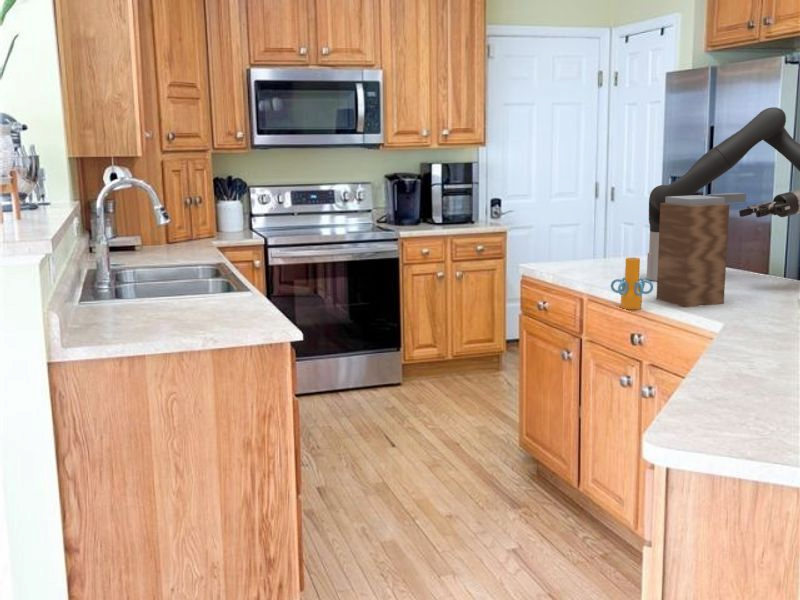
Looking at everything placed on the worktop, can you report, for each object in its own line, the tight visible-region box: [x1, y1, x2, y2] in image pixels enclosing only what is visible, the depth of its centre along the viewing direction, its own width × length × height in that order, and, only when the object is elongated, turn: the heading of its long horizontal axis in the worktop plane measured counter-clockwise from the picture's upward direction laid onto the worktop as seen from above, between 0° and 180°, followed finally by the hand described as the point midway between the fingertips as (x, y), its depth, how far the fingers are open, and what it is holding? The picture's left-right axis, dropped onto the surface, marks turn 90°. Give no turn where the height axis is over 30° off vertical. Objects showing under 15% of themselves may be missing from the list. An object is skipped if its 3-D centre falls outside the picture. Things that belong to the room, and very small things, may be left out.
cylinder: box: [610, 256, 654, 311], centre depth 241 cm, size 12×10×15 cm
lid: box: [665, 192, 747, 206], centre depth 246 cm, size 23×12×2 cm, turn 108°
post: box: [656, 203, 730, 308], centre depth 247 cm, size 14×14×30 cm
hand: (748, 214), depth 260 cm, fingers open, 8 cm apart
